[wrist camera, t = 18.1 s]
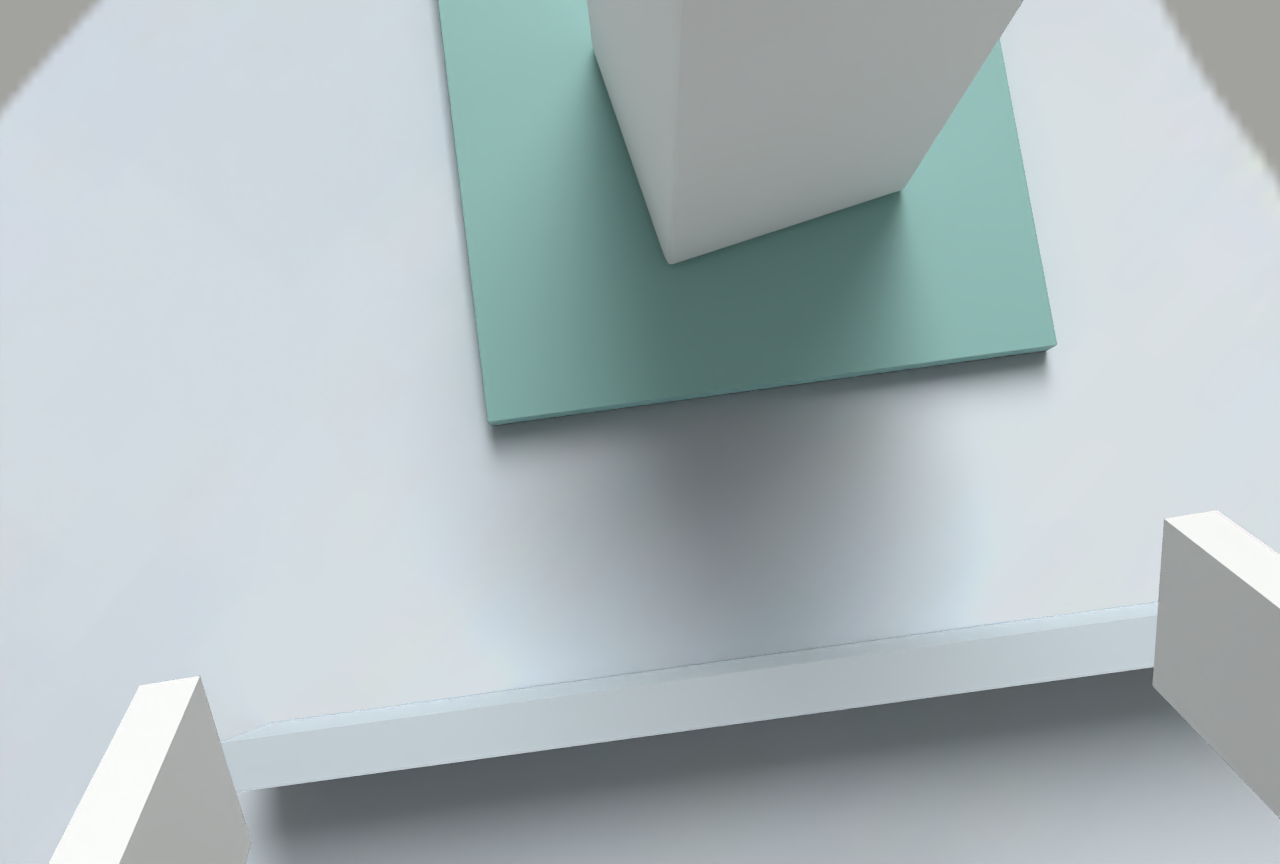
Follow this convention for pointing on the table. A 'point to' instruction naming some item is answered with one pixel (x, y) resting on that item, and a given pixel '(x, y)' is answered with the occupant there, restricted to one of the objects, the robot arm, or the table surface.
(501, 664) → the table surface
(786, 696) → the acrylic wall
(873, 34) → the milk carton
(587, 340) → the teal board
